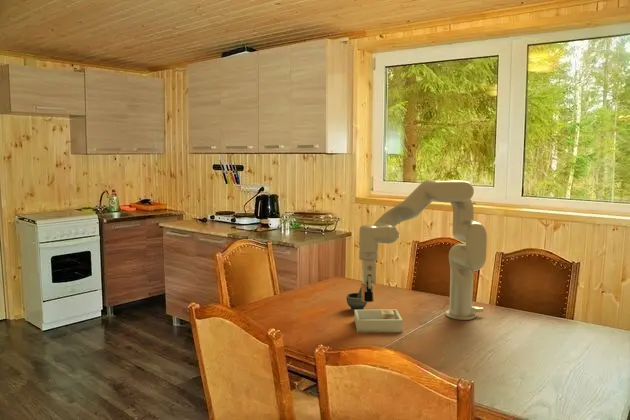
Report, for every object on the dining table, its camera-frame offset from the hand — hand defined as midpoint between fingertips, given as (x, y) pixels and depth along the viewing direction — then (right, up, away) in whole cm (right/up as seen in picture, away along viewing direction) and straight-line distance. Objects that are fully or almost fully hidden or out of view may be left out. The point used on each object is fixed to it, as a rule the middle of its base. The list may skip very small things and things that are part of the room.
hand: (367, 298), depth 211 cm
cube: (+8, -11, +1) cm, 14 cm away
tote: (+4, -12, +2) cm, 12 cm away
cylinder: (0, -1, 0) cm, 1 cm away
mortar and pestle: (-2, -9, +23) cm, 25 cm away
